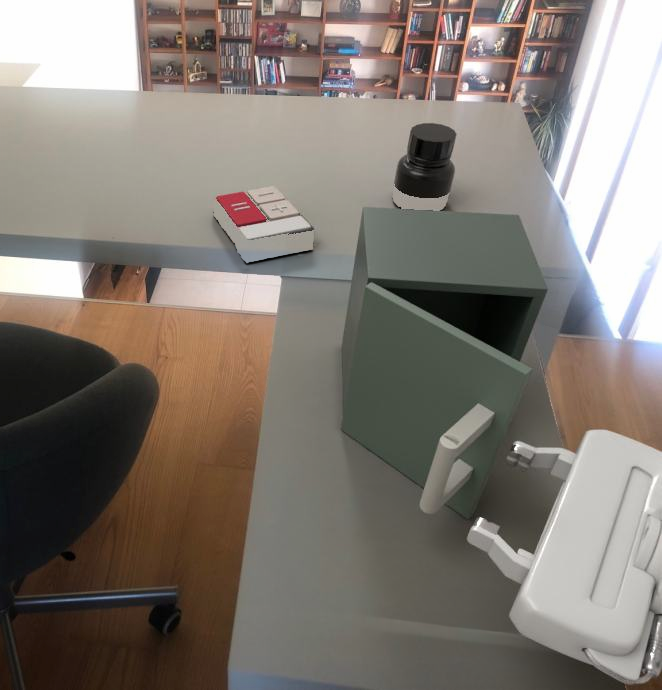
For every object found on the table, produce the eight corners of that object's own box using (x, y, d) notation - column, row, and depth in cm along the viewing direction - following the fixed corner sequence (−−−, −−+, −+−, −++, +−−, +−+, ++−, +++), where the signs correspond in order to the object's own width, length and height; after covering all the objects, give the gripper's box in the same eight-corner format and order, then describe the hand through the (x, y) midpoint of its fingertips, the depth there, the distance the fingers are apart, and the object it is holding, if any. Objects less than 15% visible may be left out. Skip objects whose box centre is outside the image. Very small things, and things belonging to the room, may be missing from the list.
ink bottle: (445, 189, 116) (461, 120, 108) (453, 217, 110) (471, 146, 102) (386, 187, 117) (397, 119, 109) (391, 214, 111) (404, 144, 103)
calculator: (275, 182, 112) (316, 224, 100) (275, 206, 114) (314, 250, 103) (211, 194, 109) (245, 238, 98) (212, 218, 112) (245, 264, 101)
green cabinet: (491, 436, 76) (548, 289, 62) (343, 423, 77) (367, 277, 64) (472, 356, 85) (519, 214, 72) (341, 346, 87) (362, 206, 74)
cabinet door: (430, 559, 64) (483, 414, 51) (301, 459, 73) (319, 315, 60) (473, 514, 68) (533, 368, 55) (346, 424, 77) (371, 281, 64)
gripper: (635, 718, 46) (434, 605, 52) (685, 508, 58) (518, 437, 65) (676, 676, 42) (453, 559, 48) (720, 459, 54) (539, 388, 60)
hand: (491, 487), depth 56 cm, fingers open, 8 cm apart
